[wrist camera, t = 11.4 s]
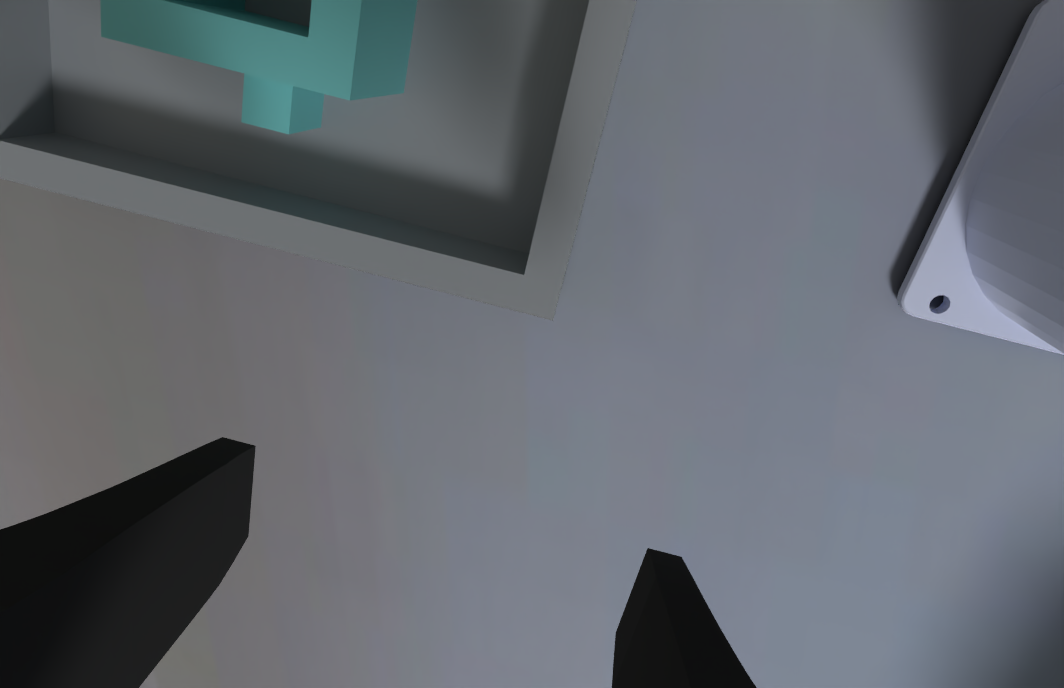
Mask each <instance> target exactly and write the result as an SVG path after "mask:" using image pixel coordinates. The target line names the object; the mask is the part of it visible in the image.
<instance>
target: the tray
mask: <svg viewBox="0 0 1064 688" xmlns="http://www.w3.org/2000/svg"><path fill="white" fill-rule="evenodd" d="M636 1H637V0H417V7H416V13H415V20H414V27H413V33H412V40H411V47H410V54H409V60H408V67H407V74H406V81H405V87H404V93H401V94H394V95H387V96H379V97H372V98H365V99H358V100H346V99H342V98H338V97H334V96H330V95H326V94H324V102H323V112H322V121H321V128H316V129H311V130H307V131H302V132H298V133H293V134H285V133H281V132H277V131H274V130H270V129H266V128H262V127H258V126H254V125H250V124H246V123H242V122H241V119H242V102H243V86H244V73H241V72H237V71H233V70H229V69H225V68H221V67H217V66H213V65H209V64H205V63H202V62H198V61H194V60H190V59H186V58H182V57H178V56H174V55H170V54H167V53H163V52H159V51H155V50H151V49H147V48H143V47H139V46H135V45H131V44H128V43H124V42H120V41H116V40H112V39H108V38H104V37H101V5H100V0H0V178H1V179H5V180H9V181H12V182H16V183H20V184H24V185H28V186H32V187H36V188H40V189H44V190H47V191H51V192H55V193H59V194H63V195H67V196H71V197H75V198H79V199H82V200H86V201H90V202H94V203H98V204H102V205H106V206H110V207H114V208H117V209H121V210H125V211H129V212H133V213H137V214H141V215H145V216H148V217H152V218H156V219H160V220H164V221H168V222H172V223H176V224H180V225H184V226H187V227H191V228H195V229H199V230H203V231H207V232H211V233H215V234H218V235H222V236H226V237H230V238H234V239H238V240H242V241H246V242H250V243H253V244H257V245H261V246H265V247H269V248H273V249H277V250H281V251H285V252H288V253H292V254H296V255H300V256H304V257H308V258H312V259H316V260H320V261H323V262H327V263H331V264H335V265H339V266H343V267H347V268H351V269H355V270H358V271H362V272H366V273H370V274H374V275H378V276H382V277H386V278H390V279H393V280H397V281H401V282H405V283H409V284H413V285H417V286H421V287H425V288H428V289H432V290H436V291H440V292H444V293H448V294H452V295H456V296H460V297H463V298H467V299H471V300H475V301H479V302H483V303H487V304H491V305H495V306H498V307H502V308H506V309H510V310H514V311H518V312H522V313H526V314H530V315H533V316H537V317H541V318H545V319H549V320H553V318H554V314H555V311H556V307H557V303H558V299H559V295H560V291H561V288H562V284H563V280H564V276H565V272H566V269H567V265H568V261H569V257H570V253H571V249H572V246H573V242H574V238H575V234H576V230H577V227H578V223H579V219H580V215H581V211H582V207H583V204H584V200H585V196H586V192H587V188H588V185H589V181H590V177H591V173H592V169H593V165H594V162H595V158H596V154H597V150H598V146H599V143H600V139H601V135H602V131H603V127H604V124H605V120H606V116H607V112H608V108H609V104H610V101H611V97H612V93H613V89H614V85H615V82H616V78H617V74H618V70H619V66H620V62H621V59H622V55H623V51H624V47H625V43H626V40H627V36H628V32H629V28H630V24H631V20H632V17H633V13H634V9H635V5H636ZM311 3H312V0H245V11H248V12H252V13H256V14H260V15H264V16H268V17H271V18H275V19H279V20H283V21H287V22H291V23H295V24H299V25H303V26H307V27H309V25H310V14H311Z"/></svg>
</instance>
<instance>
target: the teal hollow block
mask: <svg viewBox="0 0 1064 688" xmlns="http://www.w3.org/2000/svg"><path fill="white" fill-rule="evenodd" d="M100 5H101V37H104V38H108V39H112V40H116V41H120V42H124V43H128V44H131V45H135V46H139V47H143V48H147V49H151V50H155V51H159V52H163V53H167V54H170V55H174V56H178V57H182V58H186V59H190V60H194V61H198V62H202V63H205V64H209V65H213V66H217V67H221V68H225V69H229V70H233V71H237V72H241V73H244V86H243V102H242V119H241V122H242V123H246V124H250V125H254V126H258V127H262V128H266V129H270V130H274V131H277V132H281V133H285V134H293V133H298V132H302V131H307V130H311V129H316V128H321V121H322V112H323V102H324V94H326V95H330V96H334V97H338V98H342V99H346V100H358V99H365V98H372V97H379V96H387V95H394V94H401V93H404V87H405V81H406V74H407V67H408V60H409V54H410V47H411V40H412V33H413V27H414V20H415V13H416V7H417V0H312V3H311V14H310V25H309V27H307V26H303V25H299V24H295V23H291V22H287V21H283V20H279V19H275V18H271V17H268V16H264V15H260V14H256V13H252V12H248V11H245V0H100Z"/></svg>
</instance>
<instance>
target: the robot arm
mask: <svg viewBox="0 0 1064 688" xmlns="http://www.w3.org/2000/svg"><path fill="white" fill-rule="evenodd" d="M939 295H943V296H944V300H943V303H942V304H941V305H940V306H939V307H937V308H935V309H930V308H929V305H930V302H931V300H932V299H933V298H934V297H936V296H939ZM897 301H898V305H899V306H900V307H901V309H902V310H903V311H905V312H906V313H907V314H909V315H911V316H914V317H918V318H922V319H926V320H930V321H934V322H938V323H941V324H945V325H949V326H953V327H957V328H961V329H965V330H969V331H973V332H977V333H981V334H985V335H988V336H992V337H996V338H1000V339H1004V340H1008V341H1012V342H1016V343H1020V344H1024V345H1028V346H1031V347H1035V348H1039V349H1043V350H1047V351H1051V352H1055V353H1059V354H1063V355H1064V0H1044V1H1042V2H1041V3H1040V4H1038V5H1037V6H1036V7H1035V8H1034V9H1033V11H1032V12H1031V14H1030V15H1029V17H1028V19H1027V21H1026V23H1025V25H1024V27H1023V29H1022V32H1021V34H1020V36H1019V38H1018V40H1017V42H1016V44H1015V46H1014V49H1013V51H1012V53H1011V55H1010V57H1009V59H1008V61H1007V63H1006V65H1005V68H1004V70H1003V72H1002V74H1001V76H1000V78H999V80H998V82H997V84H996V87H995V89H994V91H993V93H992V95H991V97H990V99H989V101H988V104H987V106H986V108H985V110H984V112H983V114H982V116H981V118H980V120H979V123H978V125H977V127H976V129H975V131H974V133H973V135H972V137H971V139H970V142H969V144H968V146H967V148H966V150H965V152H964V154H963V156H962V158H961V161H960V163H959V165H958V167H957V169H956V171H955V173H954V175H953V178H952V180H951V182H950V184H949V186H948V188H947V190H946V192H945V194H944V197H943V199H942V201H941V203H940V205H939V207H938V209H937V211H936V213H935V216H934V218H933V220H932V222H931V224H930V226H929V228H928V230H927V233H926V235H925V237H924V239H923V241H922V243H921V245H920V247H919V249H918V252H917V254H916V256H915V258H914V260H913V262H912V264H911V266H910V268H909V271H908V273H907V275H906V277H905V279H904V281H903V283H902V285H901V288H900V290H899V292H898V296H897ZM254 458H255V446H254V445H250V444H246V443H243V442H239V441H235V440H231V439H227V438H223V437H222V438H220V439H217V440H215V441H213V442H210V443H208V444H206V445H203V446H201V447H199V448H197V449H195V450H192V451H190V452H188V453H186V454H184V455H182V456H179V457H177V458H175V459H173V460H171V461H169V462H167V463H164V464H162V465H160V466H158V467H156V468H153V469H151V470H149V471H147V472H145V473H142V474H140V475H138V476H136V477H133V478H131V479H129V480H127V481H124V482H122V483H120V484H118V485H116V486H113V487H111V488H109V489H106V490H104V491H101V492H99V493H96V494H94V495H91V496H89V497H86V498H84V499H81V500H79V501H76V502H74V503H71V504H69V505H66V506H64V507H61V508H59V509H57V510H54V511H52V512H49V513H46V514H44V515H41V516H38V517H36V518H33V519H30V520H27V521H24V522H21V523H19V524H16V525H13V526H10V527H7V528H4V529H1V530H0V688H139V687H140V685H141V684H142V683H143V682H144V680H145V679H146V678H147V677H148V675H149V674H150V673H151V672H152V670H153V669H154V668H155V666H156V665H157V664H158V663H159V661H160V660H161V659H162V658H163V656H164V655H165V654H166V653H167V651H168V650H169V649H170V647H171V646H172V645H173V644H174V642H175V641H176V640H177V639H178V637H179V636H180V635H181V634H182V632H183V631H184V630H185V628H186V627H187V626H188V625H189V623H190V622H191V621H192V620H193V618H194V617H195V616H196V614H197V613H198V612H199V611H200V609H201V608H202V607H203V605H204V604H205V603H206V602H207V600H208V599H209V598H210V596H211V595H212V594H213V592H214V591H215V590H216V588H217V587H218V586H219V584H220V583H221V581H222V579H223V578H224V576H225V575H226V573H227V571H228V570H229V568H230V567H231V565H232V563H233V562H234V560H235V558H236V556H237V555H238V553H239V551H240V550H241V548H242V546H243V544H244V543H245V541H246V539H247V538H248V533H249V521H250V508H251V496H252V483H253V471H254ZM612 688H756V686H755V685H754V683H753V682H752V680H751V679H750V677H749V676H748V674H747V673H746V671H745V669H744V668H743V666H742V665H741V663H740V661H739V659H738V658H737V656H736V654H735V653H734V651H733V649H732V648H731V646H730V644H729V643H728V641H727V639H726V637H725V636H724V634H723V632H722V631H721V629H720V627H719V625H718V623H717V622H716V620H715V618H714V616H713V614H712V613H711V611H710V609H709V607H708V605H707V603H706V602H705V600H704V598H703V596H702V594H701V592H700V590H699V589H698V587H697V585H696V583H695V581H694V579H693V577H692V575H691V574H690V572H689V570H688V568H687V566H686V564H685V563H684V561H683V559H682V557H680V556H676V555H672V554H668V553H665V552H661V551H657V550H653V549H649V548H648V549H647V551H646V554H645V557H644V559H643V562H642V565H641V567H640V570H639V573H638V575H637V578H636V581H635V583H634V586H633V589H632V591H631V594H630V597H629V599H628V602H627V605H626V607H625V610H624V613H623V615H622V618H621V621H620V623H619V626H618V628H617V631H616V638H615V651H614V664H613V680H612Z"/></svg>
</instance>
